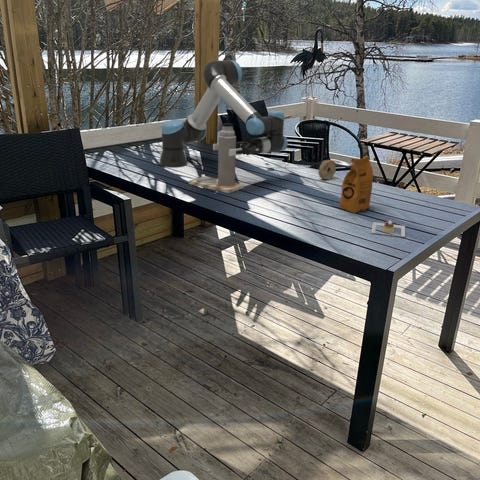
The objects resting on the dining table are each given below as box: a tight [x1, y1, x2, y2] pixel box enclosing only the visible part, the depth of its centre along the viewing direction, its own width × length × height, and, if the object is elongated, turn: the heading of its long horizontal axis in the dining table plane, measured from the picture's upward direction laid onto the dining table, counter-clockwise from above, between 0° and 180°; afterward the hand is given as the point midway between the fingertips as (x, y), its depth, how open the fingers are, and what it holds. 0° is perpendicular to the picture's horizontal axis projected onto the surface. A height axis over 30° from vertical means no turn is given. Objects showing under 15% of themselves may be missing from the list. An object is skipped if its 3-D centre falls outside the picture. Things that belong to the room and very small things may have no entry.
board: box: [188, 175, 245, 194], centre depth 236 cm, size 24×12×2 cm, turn 54°
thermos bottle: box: [217, 122, 237, 186], centre depth 228 cm, size 8×8×28 cm
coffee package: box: [339, 155, 374, 214], centre depth 206 cm, size 10×12×22 cm
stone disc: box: [318, 159, 337, 180], centre depth 252 cm, size 10×4×10 cm, turn 128°
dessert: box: [371, 219, 406, 238], centre depth 185 cm, size 12×12×5 cm
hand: (221, 149), depth 225 cm, fingers open, 13 cm apart
